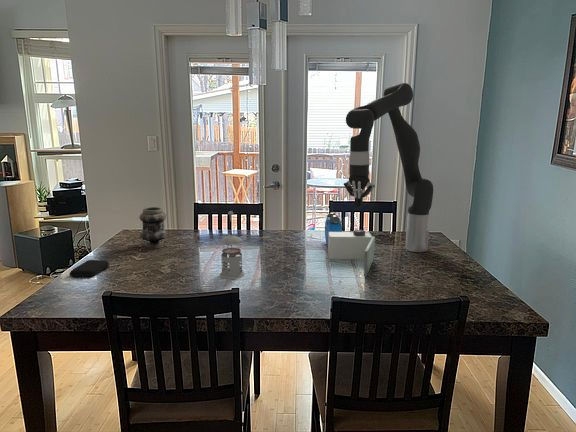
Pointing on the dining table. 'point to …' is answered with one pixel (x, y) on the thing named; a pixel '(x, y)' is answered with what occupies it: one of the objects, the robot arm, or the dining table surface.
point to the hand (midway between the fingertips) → (358, 207)
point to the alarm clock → (332, 225)
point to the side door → (369, 255)
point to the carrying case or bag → (89, 268)
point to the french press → (231, 258)
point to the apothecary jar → (153, 227)
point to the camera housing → (348, 244)
